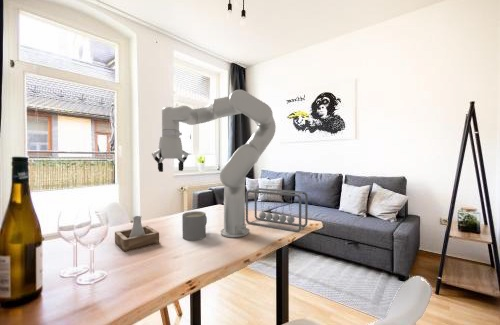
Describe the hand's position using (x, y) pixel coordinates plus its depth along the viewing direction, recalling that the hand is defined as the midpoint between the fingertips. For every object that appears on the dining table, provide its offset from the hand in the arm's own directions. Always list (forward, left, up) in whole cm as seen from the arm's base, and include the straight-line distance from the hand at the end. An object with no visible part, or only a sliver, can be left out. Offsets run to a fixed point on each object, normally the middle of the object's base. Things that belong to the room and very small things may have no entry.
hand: (171, 171), depth 113 cm
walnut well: (-5, +17, -28) cm, 33 cm away
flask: (-5, +17, -28) cm, 33 cm away
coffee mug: (-13, -6, -28) cm, 32 cm away
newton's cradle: (-26, -43, -29) cm, 58 cm away
